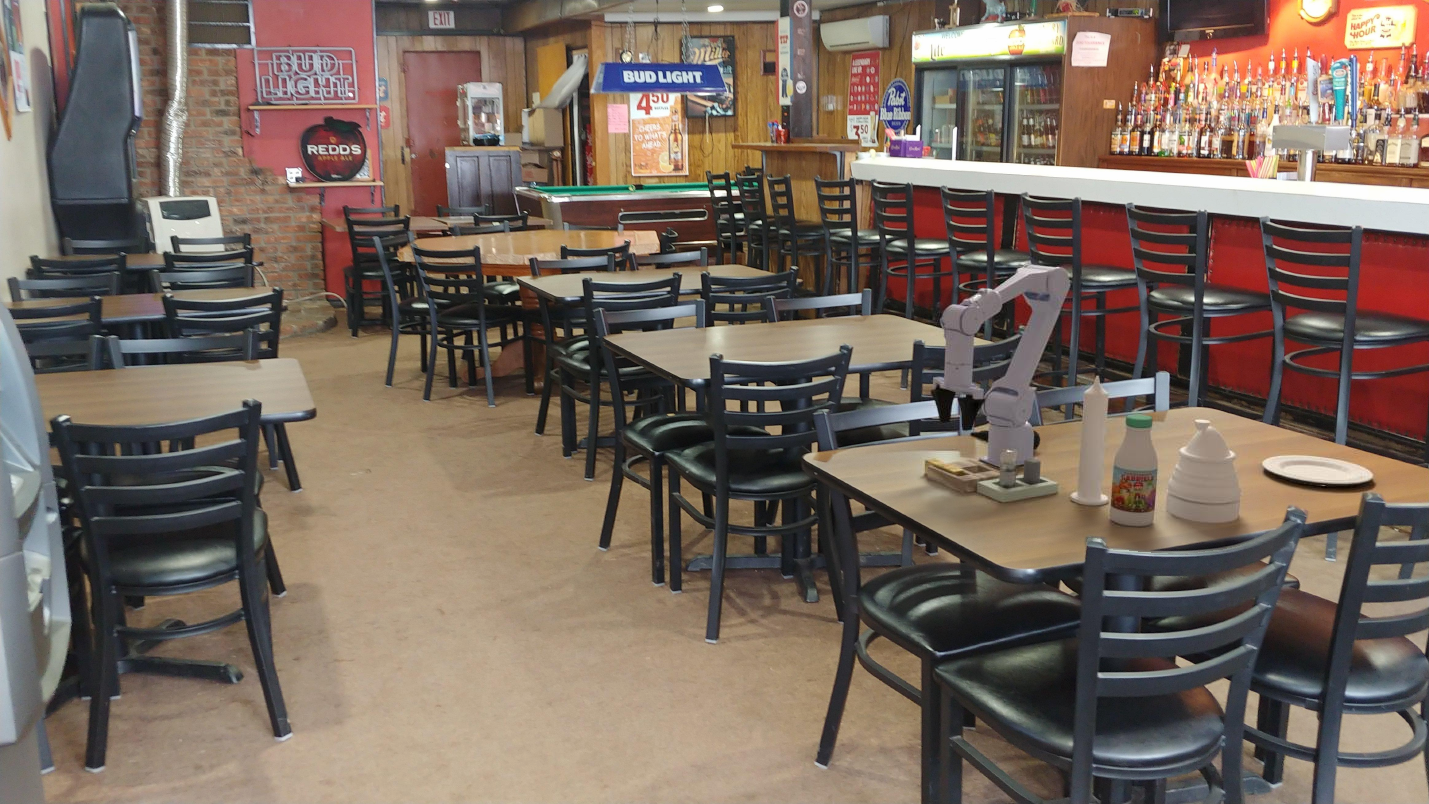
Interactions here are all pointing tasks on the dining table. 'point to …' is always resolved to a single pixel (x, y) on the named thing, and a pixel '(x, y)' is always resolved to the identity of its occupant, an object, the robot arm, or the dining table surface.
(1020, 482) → the rack
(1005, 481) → the glass jar
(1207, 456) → the honey pot
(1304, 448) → the dining table surface
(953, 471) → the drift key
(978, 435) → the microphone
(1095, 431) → the candle
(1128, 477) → the milk bottle
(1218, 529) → the dining table surface
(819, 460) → the dining table surface
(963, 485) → the socket block
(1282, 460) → the plate
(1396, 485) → the dining table surface
